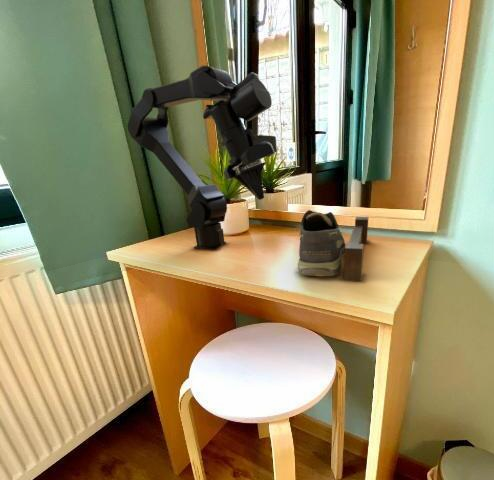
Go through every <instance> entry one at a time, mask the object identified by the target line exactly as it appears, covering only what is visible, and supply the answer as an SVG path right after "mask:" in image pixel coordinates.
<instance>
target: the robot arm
mask: <svg viewBox="0 0 494 480" xmlns="http://www.w3.org/2000/svg"><path fill="white" fill-rule="evenodd" d="M196 101H210V102H215V103H214V104H206V105H205V110H204V112H203V115H202V118H203V120H213V122H214V124H215V127H216V128H217V131H218V133H219V135H220V138H221V142H220V145H221V147H222V148H225V149H226V152H227V153H228V156H229V158H230V159H229V160H228V163H229V164H228V165H226V167H225V168H224V170H223V176H224V178H225V180H226V181H229V180H232V179H235V180H237V181H238V182H239V183H240V184H241V185H243V187H245V188H246V190H248V191H249V192H250V193H251V194H253V196H254V197H255V198H256V199H257V200H259V201H261V200H263V199H265V194H264V188H263V187H264V186H263V179H262V178H263V177H262V172H263V170H264V167H265V166H266V161H264V162H263V161H262V159H264V158H271V157H272V156H274V155H275V154H276V153H277V152H278V148H277V147H278V146H277V137H276V135H264V134H259V135H255V134H254V133H253V130H252V129H250V127H248V128H246V126H245V123H244V121H246V122H249V121H252V120H253V119H255V118H256V117H258V116H259V115H262V113H264V112H265V111H267V110H269V109H270V108H272V96H271V93H270V91H269V90H268V89H267V87H266V86H265V84H264V83H263V81H261V80H260V77H259V75H258V74H257V73H255V72H250V73H248V74H247V75H246V76H245V77H244V78H243V79H242V80H241V81H240V82H238V83H236V82H234V81H233V78H232V77H231V75H230V74H229V72H228V71H226V70H223V69H220V68H216V67H213V66H209V65H201V66H199V67H197V68H196V69H194V70H192V71H191V72H190V73H189V76H188V77H186V78H184V79H181V80H177V81H173V82H170V83H167V84H163V85H159V86H156V87H148V88H145V89H144V90H143V92H142V96H141V99H140V100H139V101H138V102H137V103H136V104H135V106H134V107H133V108H132V109H131V110H130V114H129V119H128V122H127V131H128V134H129V135H130V138H131V139H132V140H133V141H135V142H136V143H137V144H138V145H139V146H140V147H141V148H143V149H145V150H147V151H149V152H151V153H153V154H154V155H155V157H156V158H157V159H158V160H159V162H160V163H161V164H162V166H164V167H165V169H166V171H168V172H169V174H170V175H171V177H172V178H173V179H174V180H175V181H176V183H178V185H179V186H180V187H181V188H182V190H183V191H184V192H185V193H186V195H187V198H188V199H187V200H188V207H190V209H191V210H190V212H189V213H188V215H187V217H186V223H187V225H188V227H189V228H193V230H194V235H195V240H196V241H195V242H196V245H195V246H193V249H194V250H205V251H216V250H218V249H220V248H222V247H223V246H225V245H226V244H227V242H226V241H225V236H224V228H222V223H221V222H225V219H226V214H227V211H228V202H227V200H226V198H225V197H226V195H225V194H224V193H222V191H220V189H219V188H218V186H217V185H216V184H215V183H211V184H205V183H204V182H203V181H202V180H201V179H200V177H199V176H198V175H197V174H196V173H195V171H194V169H192V167H191V166H190V165H189V164H188V163H187V162H186V161H185V159H184V158H183V157H182V156H181V154H180V153H179V152H178V150H177V149H176V148H175V147H174V145H173V144H172V143H171V142H170V135H169V134H170V133H169V131H168V130H167V128H168V125H169V114H168V110H169V108H170V107H174V106H179V105H182V104H183V105H184V104H187V103H192V102H196ZM154 108H155V109H157V116H156V117H153V116H149V114H151V112H153V109H154Z"/></svg>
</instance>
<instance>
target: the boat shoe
mask: <svg viewBox="0 0 494 480" xmlns="http://www.w3.org/2000/svg"><path fill="white" fill-rule="evenodd" d="M300 226H301V229H300V231H299V234H298V237H299V252H298V257H299V258H298V262H297V270H298V272H299V274H300V275H302V276H312V277H313V276H314V277H334V276H336V275H338V274H339V273H340V271H341V266H342V257H343V256H344V255H345V247H346V244H347V243H346V242H345V241H346V240H345V238H344V236H343V232H342V231H341V230H340V229H339V223H338V221H337V218H336V217H335V214H333V212H332V211H329V212H326V213H322V212H319V211H318V212H317V211H314V210H310V209H308V210H307V211H305V212H304V214H303V216H302V218H301V221H300Z"/></svg>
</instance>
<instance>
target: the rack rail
mask: <svg viewBox="0 0 494 480" xmlns="http://www.w3.org/2000/svg"><path fill="white" fill-rule="evenodd" d="M368 230H369V216H356V217H355V219H354V227H353V230H352V233H351V234H350V235H351V236H350V238H349V241H348V242H347V243H345V244H346V247H345V253H344V260H343V261H344V262H343V281H352V282H361V281H362V275H363V259H364V246H365V245H367V244H368Z"/></svg>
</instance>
